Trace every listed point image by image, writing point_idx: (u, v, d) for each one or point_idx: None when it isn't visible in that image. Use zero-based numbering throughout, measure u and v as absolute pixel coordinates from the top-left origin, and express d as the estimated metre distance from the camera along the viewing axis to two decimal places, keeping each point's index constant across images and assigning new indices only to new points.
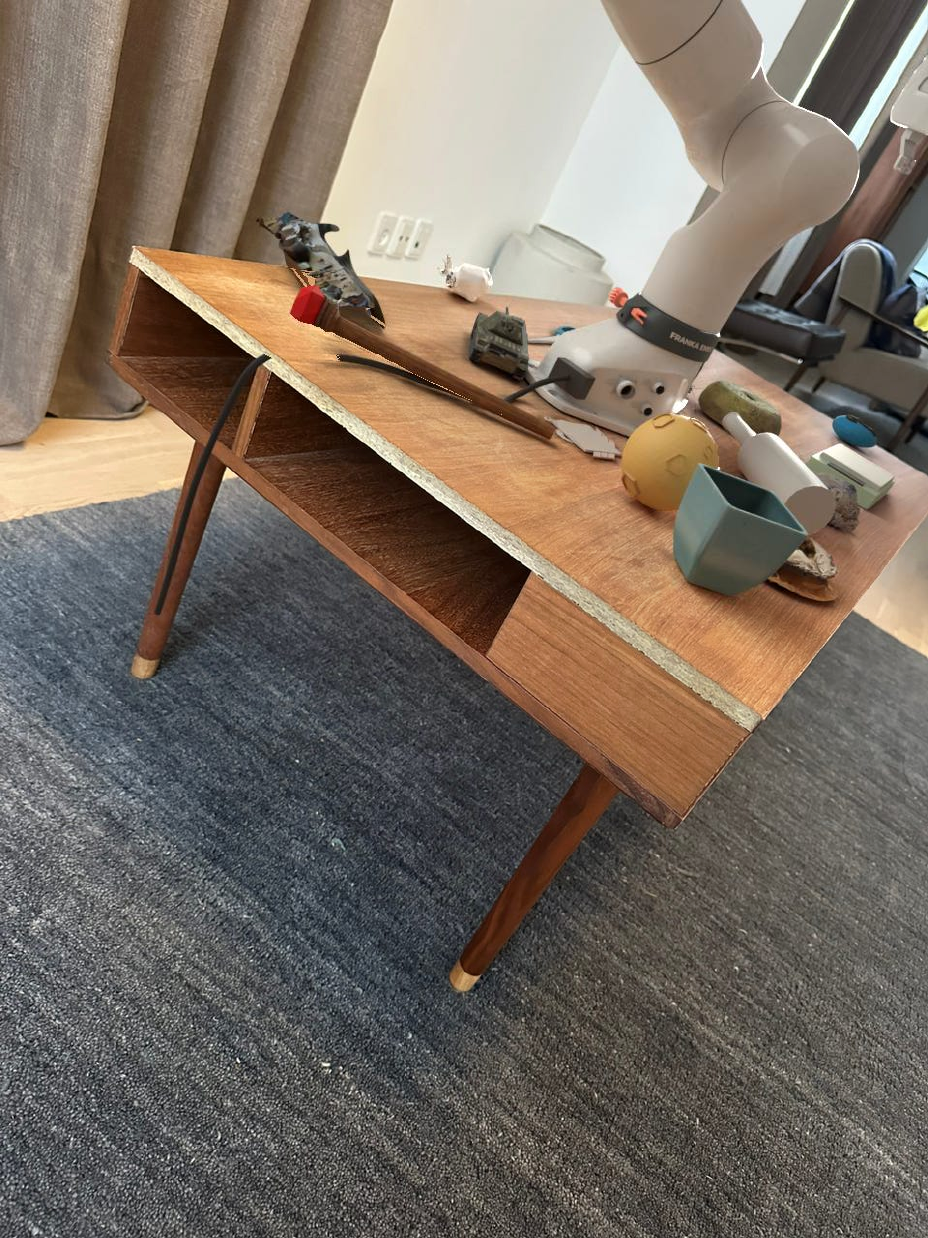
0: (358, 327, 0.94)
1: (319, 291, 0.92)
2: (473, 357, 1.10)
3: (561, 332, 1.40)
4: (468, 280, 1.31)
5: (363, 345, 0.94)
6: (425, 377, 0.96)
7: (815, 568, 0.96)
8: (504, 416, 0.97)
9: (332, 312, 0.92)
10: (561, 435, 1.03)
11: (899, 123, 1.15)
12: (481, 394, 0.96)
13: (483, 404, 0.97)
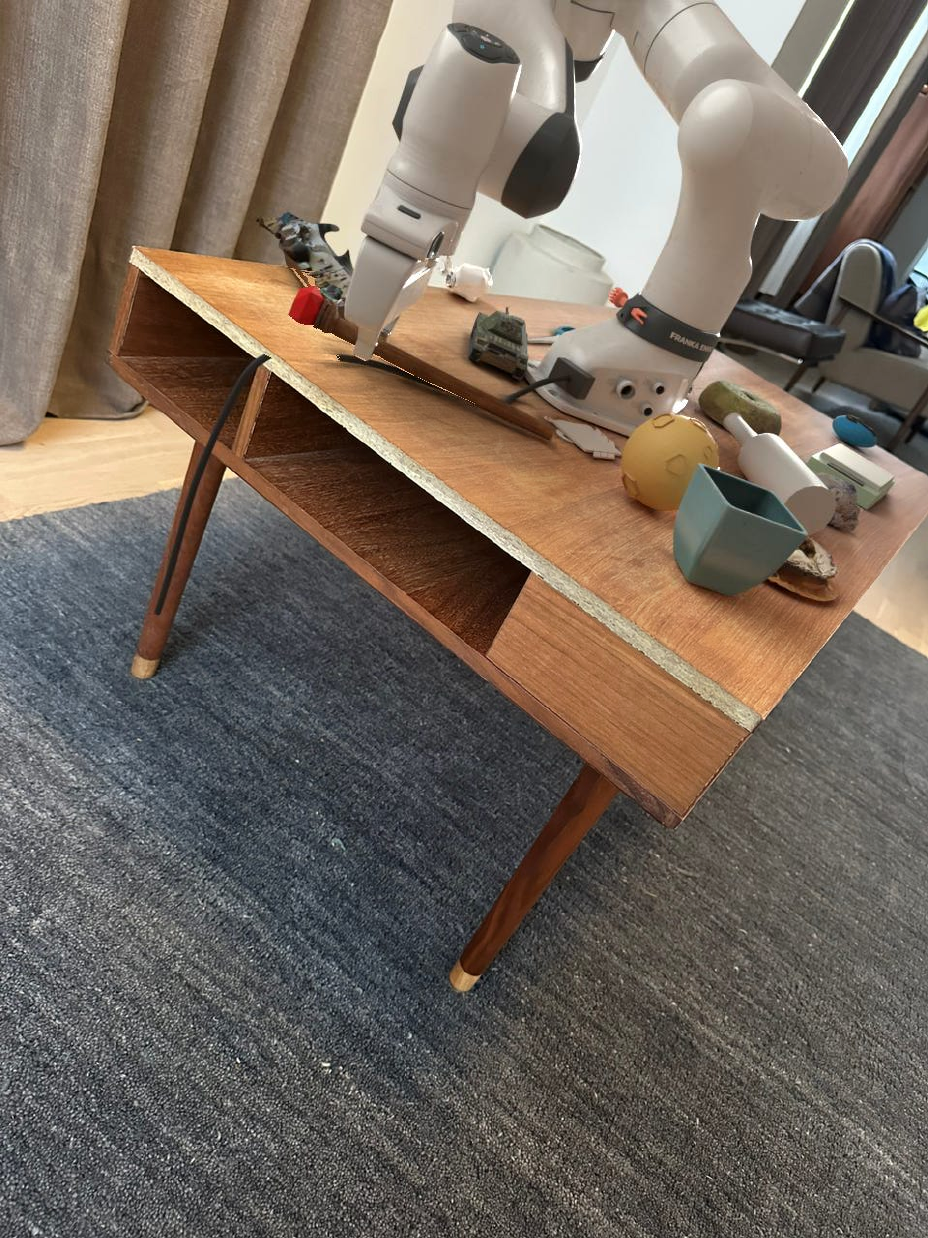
0: (357, 328, 0.93)
1: (318, 292, 0.92)
2: (472, 356, 1.10)
3: (561, 332, 1.40)
4: (468, 280, 1.31)
5: None
6: (424, 378, 0.95)
7: (815, 568, 0.96)
8: (504, 417, 0.97)
9: (331, 313, 0.91)
10: (561, 435, 1.03)
11: None
12: (481, 395, 0.96)
13: (483, 405, 0.96)
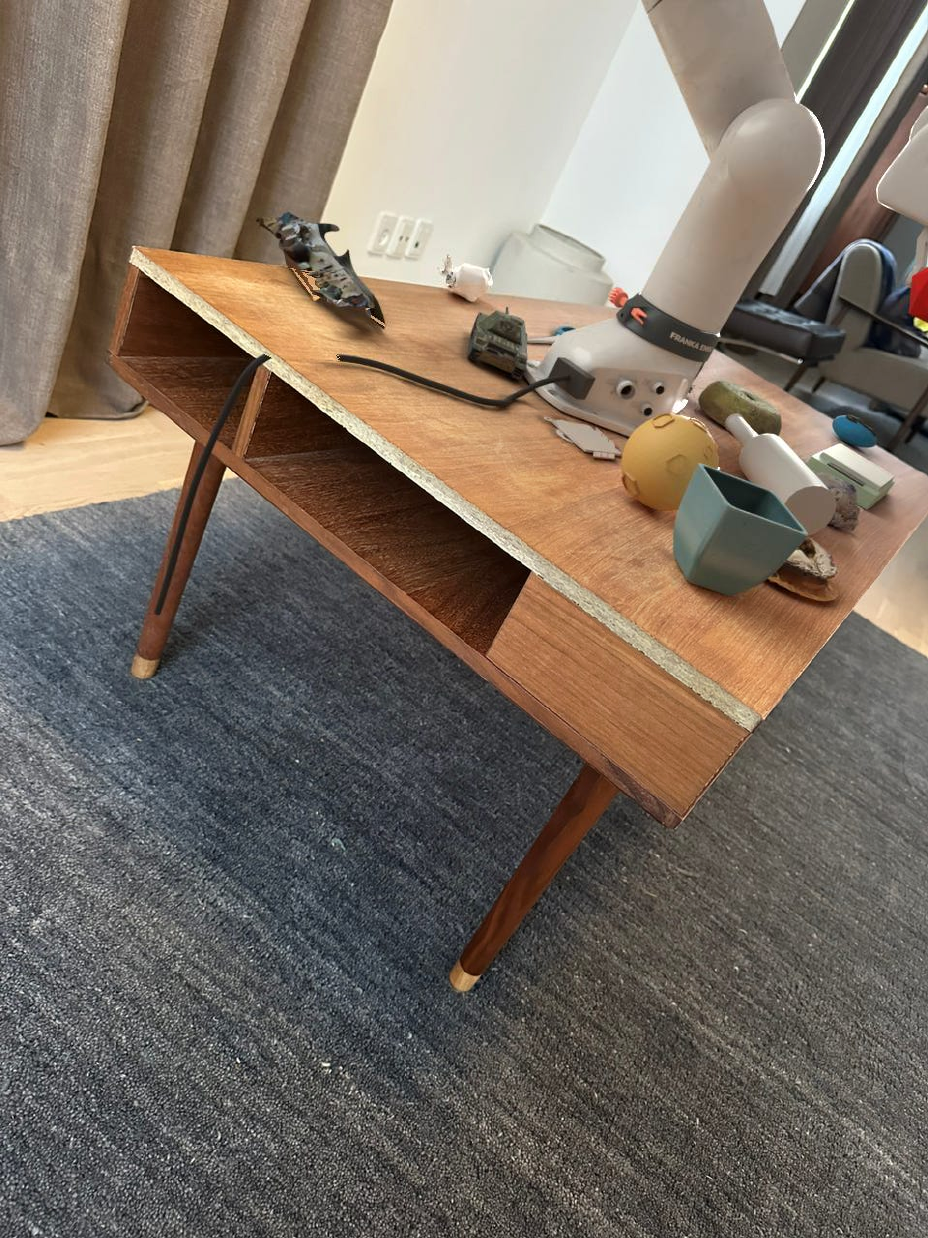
0: None
1: None
2: (471, 356, 1.10)
3: (561, 332, 1.40)
4: (468, 280, 1.31)
5: None
6: None
7: (815, 568, 0.96)
8: None
9: None
10: (561, 435, 1.03)
11: (897, 209, 0.78)
12: None
13: None
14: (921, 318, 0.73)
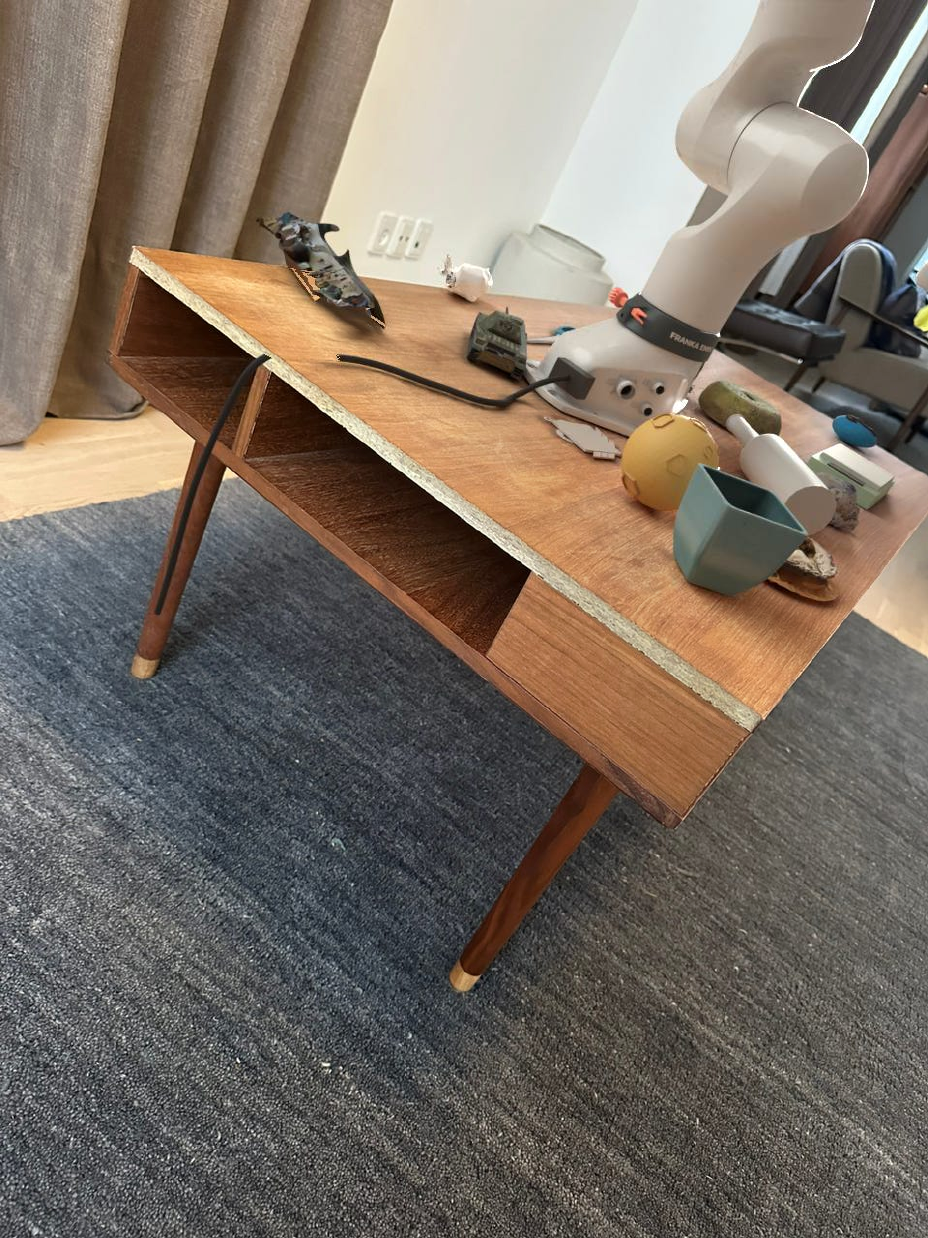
0: None
1: None
2: (471, 356, 1.10)
3: (561, 332, 1.40)
4: (468, 280, 1.31)
5: None
6: None
7: (815, 568, 0.96)
8: None
9: None
10: (561, 435, 1.03)
11: None
12: None
13: None
14: None
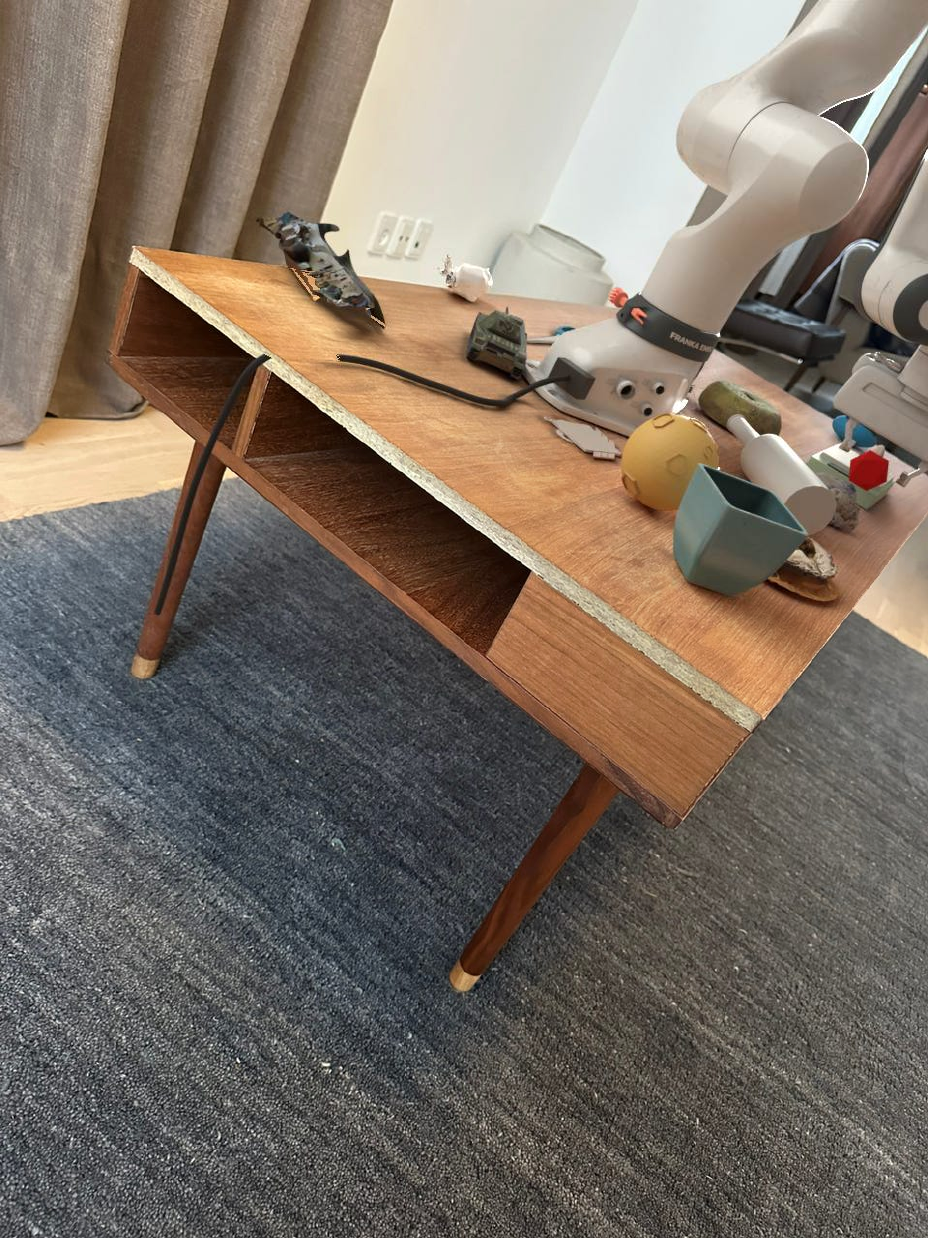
0: None
1: None
2: (470, 355, 1.10)
3: (561, 332, 1.40)
4: (468, 280, 1.31)
5: None
6: None
7: (815, 568, 0.96)
8: None
9: None
10: (561, 435, 1.03)
11: (845, 413, 1.33)
12: (882, 454, 1.45)
13: None
14: (855, 483, 1.29)
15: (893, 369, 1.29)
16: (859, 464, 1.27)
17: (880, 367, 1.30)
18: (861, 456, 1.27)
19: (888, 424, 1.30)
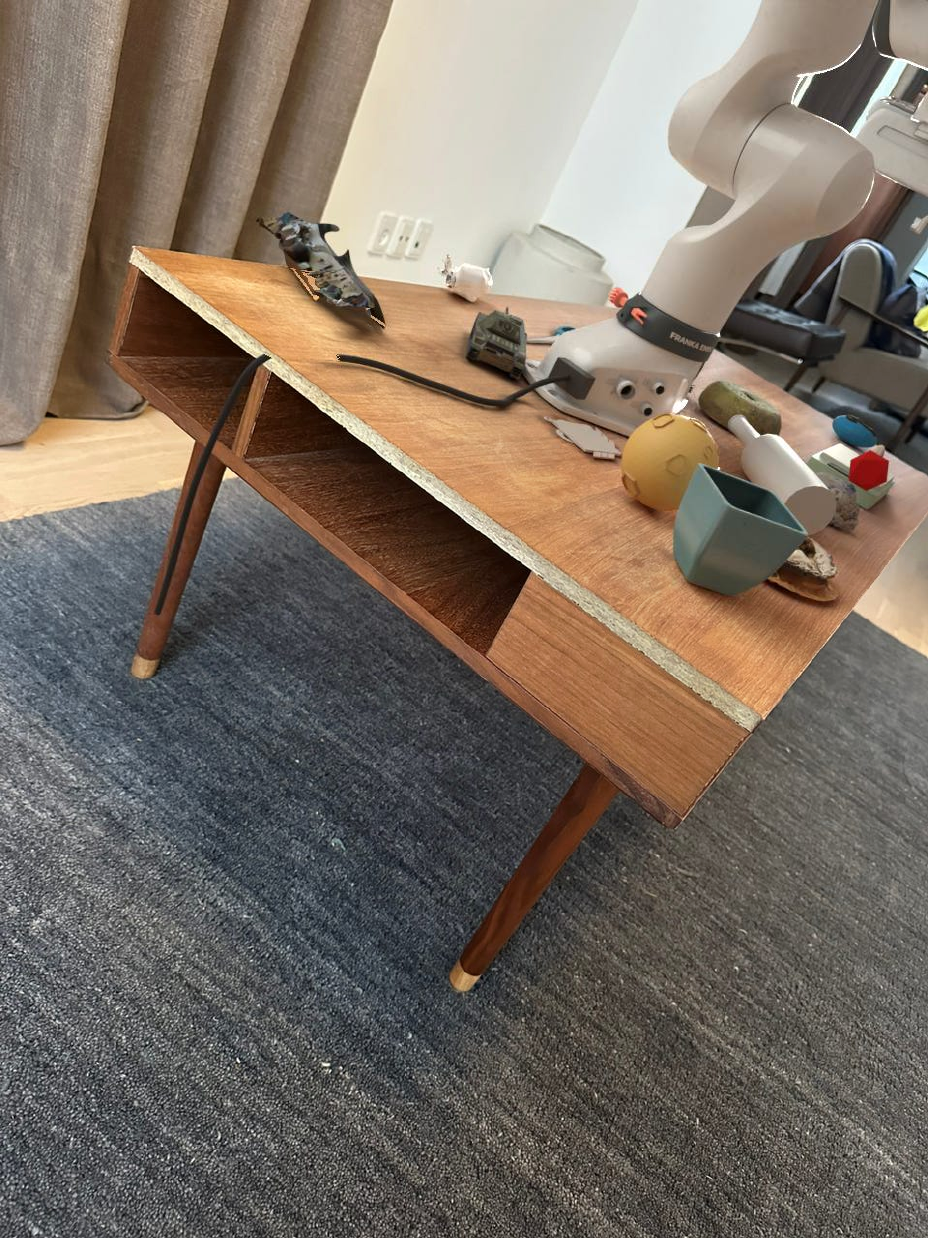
0: None
1: None
2: (470, 355, 1.10)
3: (561, 332, 1.40)
4: (468, 280, 1.31)
5: None
6: None
7: (815, 568, 0.96)
8: None
9: None
10: (561, 435, 1.03)
11: None
12: (882, 454, 1.45)
13: None
14: (855, 483, 1.29)
15: (907, 110, 1.30)
16: (859, 464, 1.27)
17: (894, 110, 1.31)
18: (861, 456, 1.27)
19: (902, 166, 1.31)
